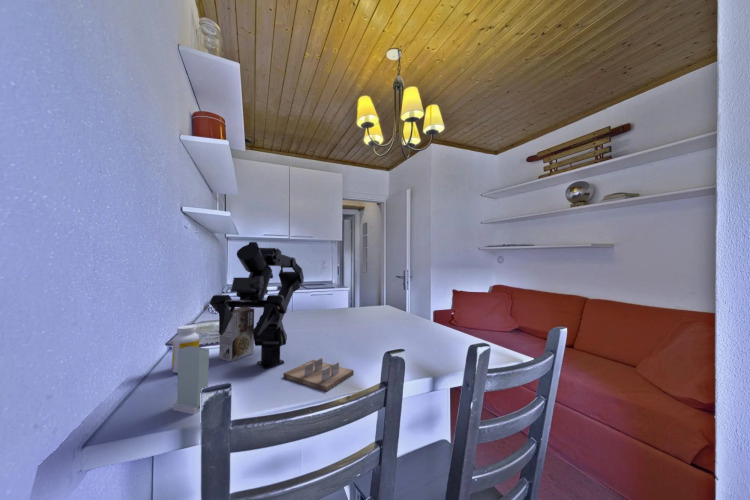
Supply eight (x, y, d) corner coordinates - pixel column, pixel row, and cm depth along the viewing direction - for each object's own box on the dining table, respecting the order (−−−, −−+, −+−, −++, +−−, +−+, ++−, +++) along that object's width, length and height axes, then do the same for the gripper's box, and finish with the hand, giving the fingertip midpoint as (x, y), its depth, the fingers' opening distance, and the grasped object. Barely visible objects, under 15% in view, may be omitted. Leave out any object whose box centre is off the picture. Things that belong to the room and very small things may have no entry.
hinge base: (283, 377, 75) (283, 362, 76) (312, 363, 86) (313, 350, 86) (326, 391, 67) (327, 374, 68) (353, 374, 78) (353, 359, 78)
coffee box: (241, 350, 97) (242, 306, 98) (254, 353, 95) (255, 307, 96) (218, 359, 89) (219, 310, 90) (231, 362, 87) (233, 312, 87)
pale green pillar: (190, 400, 62) (192, 345, 63) (210, 404, 61) (212, 347, 61) (173, 410, 59) (175, 350, 59) (193, 414, 57) (196, 353, 58)
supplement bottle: (203, 366, 83) (205, 324, 83) (184, 375, 76) (185, 330, 77) (186, 364, 84) (187, 323, 85) (165, 372, 78) (167, 328, 78)
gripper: (212, 264, 70) (184, 318, 60) (283, 265, 70) (267, 319, 60) (229, 288, 78) (207, 339, 68) (292, 288, 78) (280, 339, 68)
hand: (239, 334), depth 66 cm, fingers open, 9 cm apart
